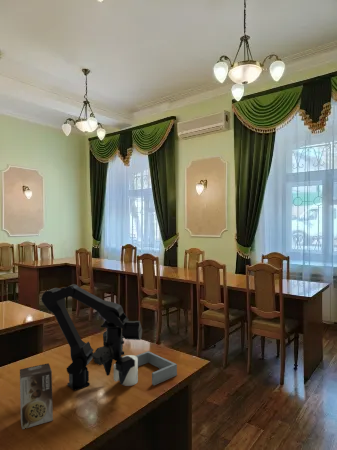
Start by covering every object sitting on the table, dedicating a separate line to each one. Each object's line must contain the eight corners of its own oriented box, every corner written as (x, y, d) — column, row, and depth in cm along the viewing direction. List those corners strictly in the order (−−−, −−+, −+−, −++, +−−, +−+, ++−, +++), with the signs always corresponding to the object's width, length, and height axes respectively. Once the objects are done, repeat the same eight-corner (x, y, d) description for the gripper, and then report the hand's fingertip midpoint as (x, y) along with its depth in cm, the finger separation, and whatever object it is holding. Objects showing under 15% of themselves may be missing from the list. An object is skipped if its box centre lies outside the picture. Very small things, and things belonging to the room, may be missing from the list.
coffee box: (50, 410, 107) (49, 362, 107) (53, 421, 101) (52, 370, 101) (20, 418, 103) (19, 368, 103) (21, 430, 97) (20, 377, 97)
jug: (131, 375, 131) (130, 353, 131) (141, 381, 126) (141, 358, 126) (110, 384, 124) (109, 361, 124) (120, 390, 119) (119, 366, 119)
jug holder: (154, 385, 123) (153, 373, 123) (126, 369, 137) (126, 359, 137) (176, 375, 131) (176, 364, 131) (148, 361, 145) (148, 351, 145)
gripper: (82, 337, 123) (83, 377, 123) (109, 351, 109) (109, 397, 110) (108, 330, 131) (108, 368, 131) (135, 343, 117) (135, 385, 117)
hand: (114, 379), depth 122 cm, fingers open, 9 cm apart
